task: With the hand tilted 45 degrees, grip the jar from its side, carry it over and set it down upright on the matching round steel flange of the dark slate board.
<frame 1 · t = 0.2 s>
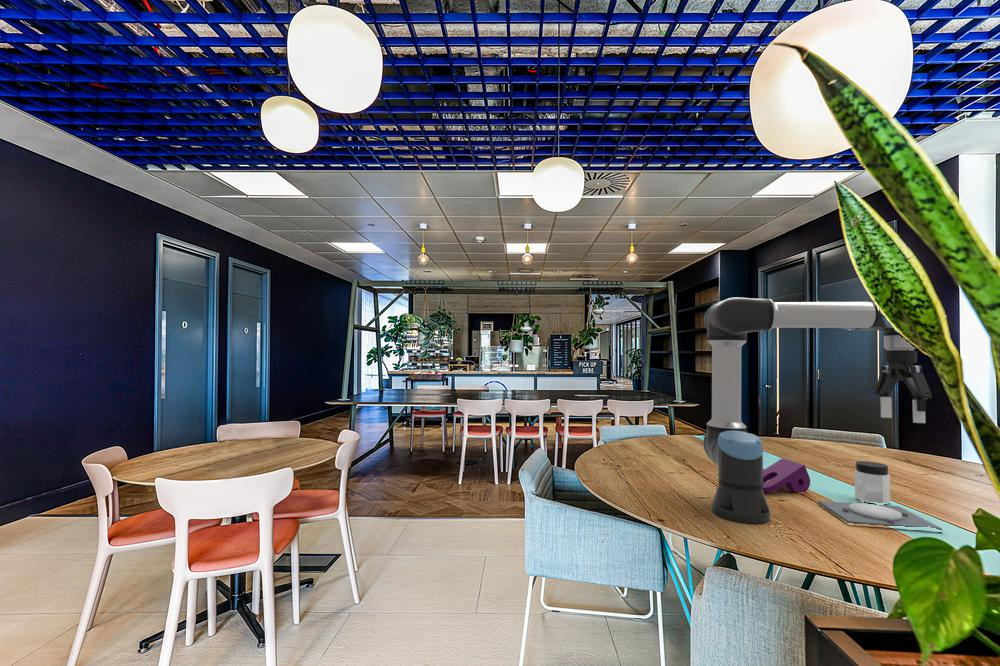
hand: (902, 420, 138), 28 cm above the table, tool pointing down, fingers open, 13 cm apart
mounting bracket: (776, 491, 159), on the table
jar: (872, 501, 148), on the table
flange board: (875, 517, 133), on the table
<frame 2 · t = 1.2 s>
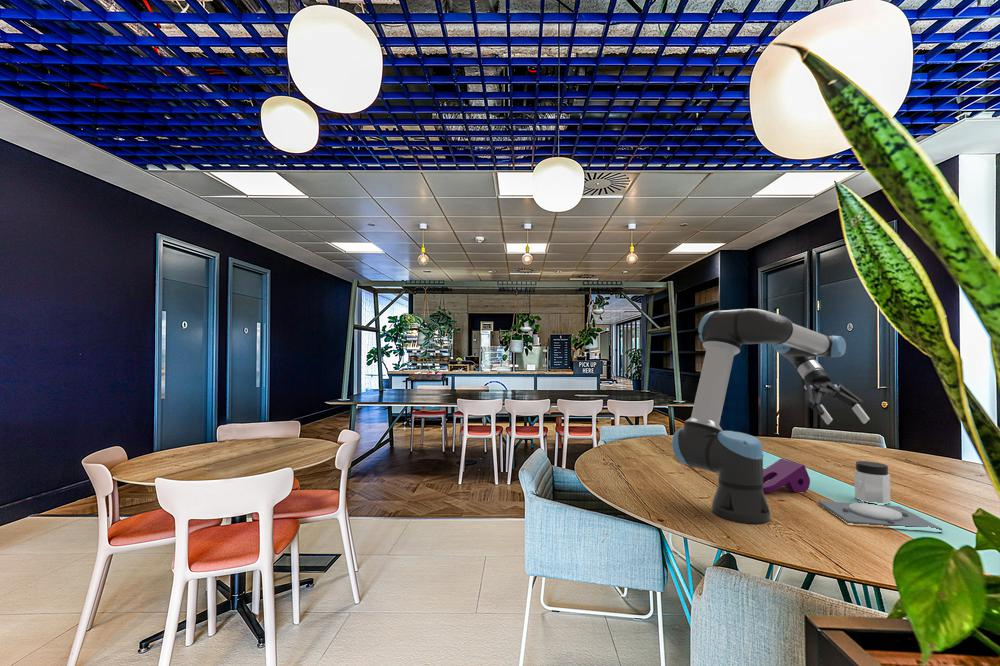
hand: (848, 421, 158), 24 cm above the table, tool tilted 45°, fingers open, 13 cm apart
nothing on the table moved.
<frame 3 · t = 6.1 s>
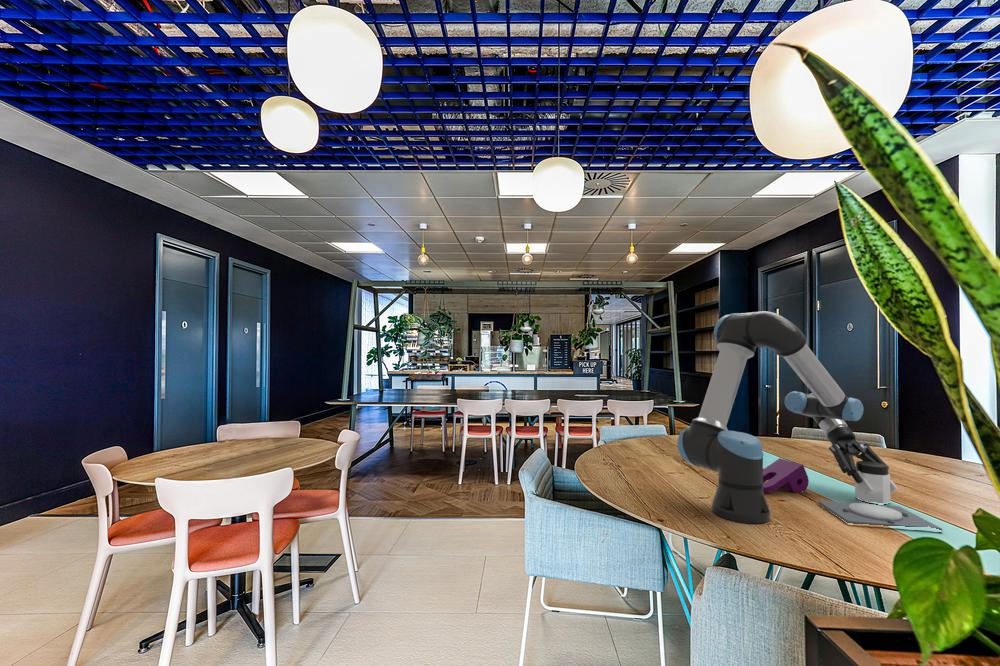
hand: (881, 491, 145), 4 cm above the table, tool tilted 45°, fingers closed on jar, 8 cm apart
jar: (872, 501, 148), on the table, touching gripper
everything else where it was.
when the fingers open (8 cm above the table, at t = 11.4 s): jar drops 1 cm, resting on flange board.
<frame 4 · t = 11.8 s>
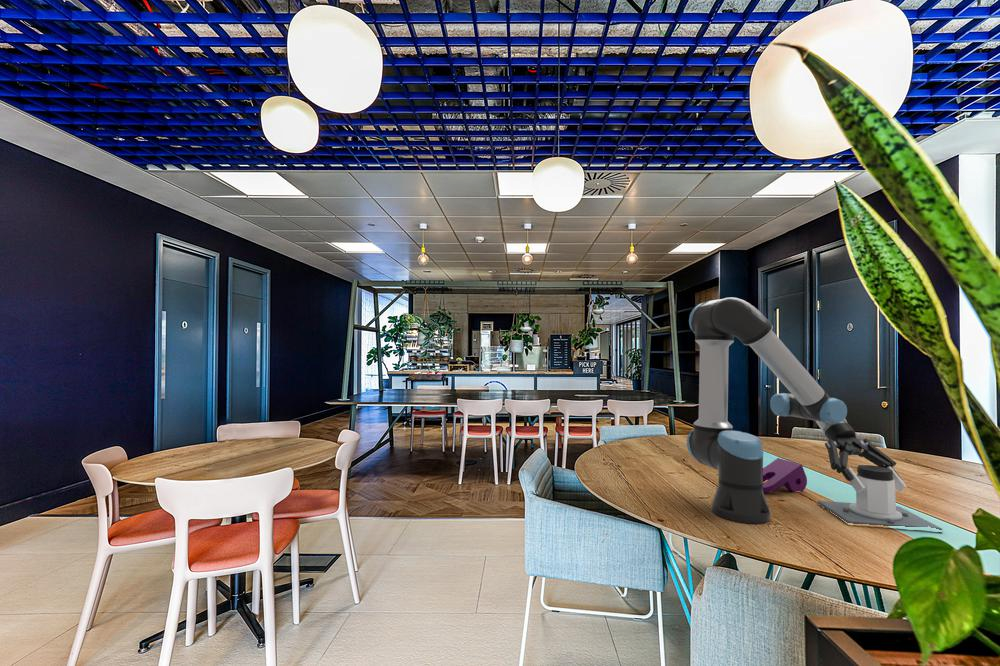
hand: (882, 489, 131), 9 cm above the table, tool tilted 45°, fingers open, 13 cm apart
jar: (875, 510, 133), point 2 cm above the table, touching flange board
everything else where it was.
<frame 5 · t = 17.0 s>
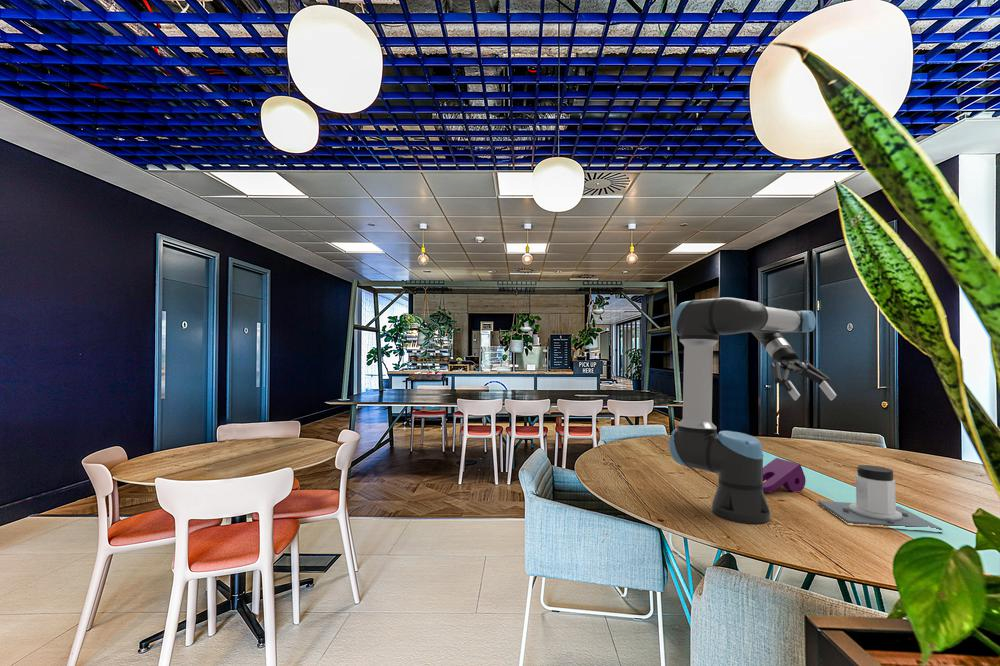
hand: (815, 397, 154), 33 cm above the table, tool tilted 45°, fingers open, 13 cm apart
at the end: jar 0.4 cm off-centre on the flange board, point 2.0 cm above the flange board's base; jar tilted 0°; the gripper is holding nothing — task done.
